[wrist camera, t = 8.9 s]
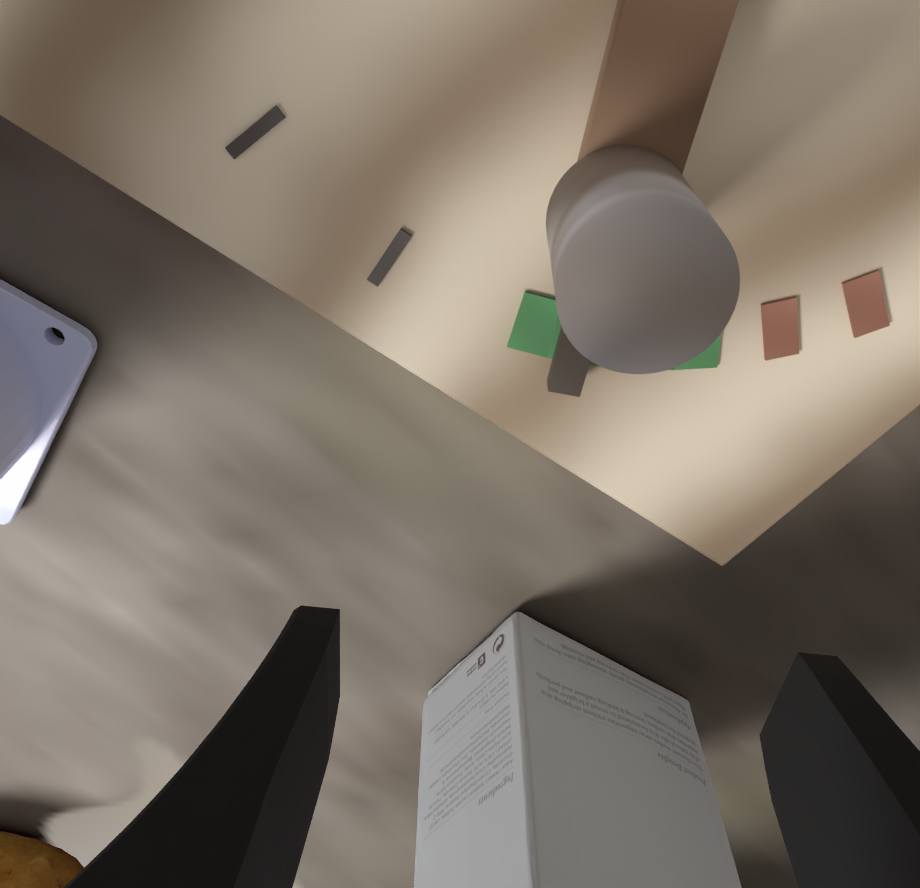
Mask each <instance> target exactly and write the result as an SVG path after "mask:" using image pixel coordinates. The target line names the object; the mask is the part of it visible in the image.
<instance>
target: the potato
mask: <svg viewBox="0 0 920 888" xmlns="http://www.w3.org/2000/svg"><path fill="white" fill-rule="evenodd" d="M83 869H84V867H83V866H82V865H81V864H80V863H79V861H78V860H77V859H76V858H75V857H73V856H71V855H70V854H68V853H66V852H65V851H63V850H62V849H60V848H57V847H54V846H52V845H50V844H47V843H45V842H43V841H41V840H38V839H36V838H29V837H23V836H20V835H16V834H12V833H8V832H1V831H0V888H63V887H64V886H66V885H67V884H68V883H69V882H70V881H71V880H72V879H73V878H74V877H75V876H76V875H77V874H79V873H80V872H81V871H82V870H83Z"/></svg>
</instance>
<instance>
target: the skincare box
mask: <svg viewBox="0 0 920 888" xmlns="http://www.w3.org/2000/svg"><path fill="white" fill-rule="evenodd" d="M414 888H742V887H741V883H740V880H739V876H738V873H737V869H736V866H735V862H734V859H733V855H732V852H731V848H730V845H729V841H728V838H727V834H726V831H725V827H724V823H723V820H722V817H721V814H720V810H719V807H718V803H717V799H716V796H715V793H714V789H713V786H712V783H711V779H710V775H709V771H708V768H707V764H706V761H705V757H704V754H703V750H702V747H701V743H700V740H699V737H698V733H697V730H696V726H695V723H694V719H693V715H692V712H691V708H690V702H689V701H688V700H686V699H685V698H683V697H681V696H679V695H677V694H675V693H673V692H671V691H670V690H668V689H666V688H664V687H662V686H660V685H658V684H656V683H654V682H652V681H650V680H648V679H646V678H644V677H642V676H640V675H638V674H637V673H635V672H633V671H631V670H629V669H627V668H625V667H623V666H622V665H620V664H618V663H616V662H614V661H612V660H610V659H608V658H606V657H605V656H603V655H601V654H599V653H597V652H595V651H593V650H591V649H589V648H587V647H585V646H584V645H582V644H580V643H578V642H576V641H574V640H572V639H570V638H568V637H566V636H564V635H562V634H560V633H558V632H556V631H554V630H552V629H550V628H548V627H547V626H545V625H543V624H541V623H539V622H537V621H536V620H534V619H532V618H530V617H528V616H527V615H525V614H523V613H521V612H515V613H514V614H512V615H511V616H510V617H509V618H508V619H507V620H505V621H504V622H503V623H502V624H501V625H500V626H499V627H498V628H497V629H496V630H495V631H494V632H493V634H491V635H490V636H489V637H488V638H487V639H486V640H485V641H484V642H483V643H482V644H481V645H480V646H478V647H477V648H476V649H475V650H474V651H473V652H472V653H471V654H470V655H468V656H467V657H466V658H465V659H464V660H462V661H461V662H460V663H459V664H458V665H457V666H456V667H455V668H453V669H452V670H451V671H450V672H449V673H448V674H447V675H446V676H445V677H444V678H443V679H441V681H440V682H439V683H437V684H436V685H435V686H434V687H433V688H432V689H431V690H430V691H429V693H428V697H427V699H426V700H425V702H424V705H423V720H422V740H421V758H420V777H419V796H418V819H417V839H416V859H415V878H414Z"/></svg>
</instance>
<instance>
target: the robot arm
mask: <svg viewBox="0 0 920 888" xmlns="http://www.w3.org/2000/svg"><path fill="white" fill-rule="evenodd" d="M52 327H53V328H56V329H58V330H60V331H61V332H62V333H63V335H64V337H65V339H62V338H58V337H57V336H56V335H55V334H54V333H53V331H52ZM96 350H97V341H96V338H95V336H94V335H93V334H92V332H91V331H89V330H88V329H87V328H86V327H84V326H82V325H80V324H79V323H77V322H75V321H73V320H72V319H70V318H68V317H66V316H65V315H63V314H61V313H59V312H58V311H56V310H54V309H52V308H50V307H49V306H47V305H45V304H43V303H42V302H40V301H38V300H36V299H35V298H33V297H31V296H29V295H27V294H26V293H24V292H22V291H20V290H19V289H17V288H15V287H13V286H12V285H10V284H8V283H6V282H4V281H3V280H1V279H0V524H8V523H10V522H11V521H12V520H13V519H14V518H15V517H16V516H17V514H18V513H19V511H20V509H21V507H22V504H23V502H24V500H25V498H26V496H27V494H28V492H29V490H30V488H31V486H32V484H33V482H34V479H35V477H36V475H37V473H38V471H39V469H40V467H41V465H42V463H43V461H44V459H45V457H46V455H47V452H48V450H49V448H50V446H51V444H52V442H53V440H54V438H55V436H56V434H57V432H58V430H59V427H60V425H61V423H62V421H63V419H64V417H65V415H66V413H67V411H68V409H69V407H70V405H71V402H72V400H73V398H74V396H75V394H76V392H77V390H78V388H79V386H80V384H81V382H82V380H83V377H84V375H85V373H86V371H87V369H88V367H89V365H90V363H91V361H92V359H93V357H94V355H95V352H96ZM339 698H340V609H331V608H321V607H310V606H300V607H298V608H297V609H295V610H294V611H293V613H292V615H291V616H290V618H289V620H288V622H287V624H286V625H285V627H284V629H283V630H282V632H281V634H280V635H279V637H278V639H277V640H276V642H275V643H274V645H273V646H272V648H271V650H270V651H269V653H268V654H267V656H266V657H265V659H264V660H263V662H262V663H261V665H260V666H259V667H258V669H257V670H256V672H255V673H254V675H253V676H252V678H251V679H250V680H249V682H248V683H247V685H246V686H245V687H244V689H243V690H242V691H241V693H240V694H239V695H238V697H237V698H236V699H235V701H234V702H233V704H232V705H231V706H230V708H229V709H228V710H227V712H226V713H225V714H224V716H223V717H222V718H221V720H220V721H219V722H218V723H217V725H216V726H215V727H214V728H213V730H212V731H211V732H210V733H209V734H208V736H207V737H206V738H205V739H204V741H203V742H202V743H201V744H200V745H199V747H198V748H197V749H196V750H195V751H194V753H193V754H192V755H191V756H190V758H189V759H188V760H187V761H186V762H185V764H184V765H183V766H182V767H181V768H180V769H179V771H178V772H177V773H176V774H175V775H174V776H173V778H172V779H171V780H170V781H169V782H168V783H167V784H166V785H165V786H164V788H163V789H162V790H161V791H160V792H159V793H158V794H157V795H156V796H155V798H154V799H153V800H152V801H151V802H150V803H149V804H148V805H147V806H146V807H145V808H144V809H143V810H142V811H141V812H140V813H139V814H138V815H137V817H136V818H135V819H134V820H133V821H132V822H131V823H130V824H129V825H128V826H127V827H126V828H125V829H124V830H123V831H122V832H121V833H120V834H119V835H118V836H117V837H116V838H115V839H114V840H113V841H112V842H111V843H110V844H109V845H108V846H107V847H106V848H105V849H104V850H102V851H101V852H100V853H99V854H98V855H97V856H96V857H95V858H94V859H93V860H92V861H91V862H90V863H89V864H88V865H87V866H86V867H85V868H84V869H83V870H82V871H81V872H80V873H79V874H77V875H76V876H75V877H74V878H73V879H72V880H71V881H70V882H69V883H68V884H67V885H66V886H64V887H63V888H292V887H293V883H294V880H295V876H296V873H297V869H298V866H299V862H300V859H301V855H302V852H303V848H304V845H305V841H306V838H307V834H308V831H309V827H310V824H311V820H312V817H313V813H314V810H315V806H316V802H317V799H318V795H319V792H320V788H321V785H322V781H323V778H324V774H325V770H326V767H327V763H328V760H329V754H330V749H331V743H332V738H333V732H334V727H335V721H336V715H337V709H338V703H339ZM760 740H761V746H762V752H763V758H764V763H765V769H766V774H767V779H768V784H769V789H770V794H771V799H772V803H773V806H774V809H775V813H776V816H777V819H778V822H779V826H780V829H781V832H782V835H783V838H784V842H785V845H786V848H787V851H788V854H789V857H790V861H791V864H792V867H793V870H794V873H795V876H796V879H797V882H798V885H799V888H920V751H919V750H918V749H917V748H916V747H915V745H914V744H913V743H912V742H911V741H910V740H909V739H908V737H907V736H906V735H905V734H904V733H903V732H902V731H901V729H900V728H899V727H898V726H897V725H896V724H895V722H894V721H893V720H892V719H891V718H890V717H889V716H888V714H887V713H886V712H885V711H884V710H883V709H882V707H881V706H880V705H879V704H878V703H877V702H876V700H875V699H874V698H873V697H872V696H871V695H870V693H869V692H868V691H867V690H866V689H865V688H864V686H863V685H862V684H861V683H860V682H859V681H858V680H857V678H856V677H855V676H854V675H853V674H852V673H851V672H850V670H849V669H848V668H847V667H846V666H845V665H844V664H843V662H842V661H841V660H840V659H839V658H838V657H837V656H828V655H818V654H807V653H798V654H797V656H796V658H795V660H794V663H793V665H792V667H791V669H790V671H789V673H788V675H787V678H786V680H785V682H784V684H783V686H782V688H781V690H780V693H779V695H778V697H777V699H776V701H775V703H774V705H773V707H772V710H771V712H770V714H769V716H768V718H767V720H766V722H765V725H764V727H763V729H762V731H761V733H760Z"/></svg>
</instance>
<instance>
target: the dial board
mask: <svg viewBox="0 0 920 888" xmlns="http://www.w3.org/2000/svg"><path fill="white" fill-rule="evenodd" d="M616 4H617V0H0V115H1V116H3V117H4V118H6V119H7V120H9V121H11V122H12V123H14V124H15V125H17V126H19V127H20V128H22V129H23V130H25V131H27V132H28V133H30V134H31V135H33V136H35V137H36V138H38V139H39V140H41V141H43V142H44V143H46V144H47V145H49V146H51V147H52V148H54V149H55V150H57V151H59V152H60V153H62V154H63V155H65V156H67V157H68V158H70V159H71V160H73V161H75V162H76V163H78V164H79V165H81V166H83V167H84V168H86V169H87V170H89V171H91V172H92V173H94V174H95V175H97V176H99V177H100V178H102V179H103V180H105V181H107V182H108V183H110V184H111V185H113V186H115V187H116V188H118V189H119V190H121V191H123V192H124V193H126V194H127V195H129V196H131V197H132V198H134V199H135V200H137V201H139V202H140V203H142V204H143V205H145V206H147V207H148V208H150V209H151V210H153V211H155V212H156V213H158V214H159V215H161V216H163V217H164V218H166V219H167V220H169V221H171V222H172V223H174V224H175V225H177V226H179V227H180V228H182V229H183V230H185V231H187V232H188V233H190V234H191V235H193V236H195V237H196V238H198V239H199V240H201V241H203V242H204V243H206V244H207V245H209V246H211V247H212V248H214V249H215V250H217V251H219V252H220V253H222V254H223V255H225V256H227V257H228V258H230V259H231V260H233V261H235V262H236V263H238V264H239V265H241V266H243V267H244V268H246V269H247V270H249V271H251V272H252V273H254V274H255V275H257V276H259V277H260V278H262V279H263V280H265V281H267V282H268V283H270V284H271V285H273V286H275V287H276V288H278V289H279V290H281V291H283V292H284V293H286V294H287V295H289V296H291V297H292V298H294V299H295V300H297V301H299V302H300V303H302V304H303V305H305V306H307V307H308V308H310V309H311V310H313V311H315V312H316V313H318V314H319V315H321V316H323V317H324V318H326V319H327V320H329V321H331V322H332V323H334V324H335V325H337V326H339V327H340V328H342V329H343V330H345V331H347V332H348V333H350V334H351V335H353V336H355V337H356V338H358V339H359V340H361V341H363V342H364V343H366V344H367V345H369V346H371V347H372V348H374V349H375V350H377V351H379V352H380V353H382V354H383V355H385V356H387V357H388V358H390V359H391V360H393V361H395V362H396V363H398V364H399V365H401V366H403V367H404V368H406V369H407V370H409V371H411V372H412V373H414V374H415V375H417V376H419V377H420V378H422V379H423V380H425V381H427V382H428V383H430V384H431V385H433V386H435V387H436V388H438V389H439V390H441V391H443V392H444V393H446V394H447V395H449V396H451V397H452V398H454V399H455V400H457V401H459V402H460V403H462V404H463V405H465V406H467V407H468V408H470V409H472V410H473V411H475V412H476V413H478V414H480V415H481V416H483V417H484V418H486V419H488V420H489V421H491V422H492V423H494V424H496V425H497V426H499V427H500V428H502V429H504V430H505V431H507V432H508V433H510V434H512V435H513V436H515V437H516V438H518V439H520V440H521V441H523V442H524V443H526V444H528V445H529V446H531V447H532V448H534V449H536V450H537V451H539V452H540V453H542V454H544V455H545V456H547V457H548V458H550V459H552V460H553V461H555V462H556V463H558V464H560V465H561V466H563V467H564V468H566V469H568V470H569V471H571V472H572V473H574V474H576V475H577V476H579V477H580V478H582V479H584V480H585V481H587V482H588V483H590V484H592V485H593V486H595V487H596V488H598V489H600V490H601V491H603V492H604V493H606V494H608V495H609V496H611V497H612V498H614V499H616V500H617V501H619V502H620V503H622V504H624V505H625V506H627V507H628V508H630V509H632V510H633V511H635V512H636V513H638V514H640V515H641V516H643V517H644V518H646V519H648V520H649V521H651V522H652V523H654V524H656V525H657V526H659V527H660V528H662V529H664V530H665V531H667V532H668V533H670V534H672V535H673V536H675V537H676V538H678V539H680V540H681V541H683V542H684V543H686V544H688V545H689V546H691V547H692V548H694V549H696V550H697V551H699V552H700V553H702V554H704V555H705V556H707V557H708V558H710V559H712V560H713V561H715V562H716V563H718V564H720V565H721V566H723V565H724V564H726V563H727V562H728V561H729V560H731V559H732V558H733V557H734V556H735V555H737V554H738V553H739V552H740V551H741V550H743V549H744V548H745V547H746V546H748V545H749V544H750V543H751V542H752V541H754V540H755V539H756V538H757V537H759V536H760V535H761V534H762V533H763V532H765V531H766V530H767V529H768V528H770V527H771V526H772V525H773V524H774V523H776V522H777V521H778V520H779V519H780V518H782V517H783V516H784V515H785V514H787V513H788V512H789V511H790V510H791V509H793V508H794V507H795V506H796V505H798V504H799V503H800V502H801V501H802V500H804V499H805V498H806V497H807V496H808V495H810V494H811V493H812V492H813V491H815V490H816V489H817V488H818V487H819V486H821V485H822V484H823V483H824V482H826V481H827V480H828V479H829V478H830V477H832V476H833V475H834V474H835V473H837V472H838V471H839V470H840V469H841V468H843V467H844V466H845V465H846V464H847V463H849V462H850V461H851V460H852V459H854V458H855V457H856V456H857V455H858V454H860V453H861V452H862V451H863V450H865V449H866V448H867V447H868V446H869V445H871V444H872V443H873V442H874V441H875V440H877V439H878V438H879V437H880V436H882V435H883V434H884V433H885V432H886V431H888V430H889V429H890V428H891V427H893V426H894V425H895V424H896V423H897V422H899V421H900V420H901V419H902V418H904V417H905V416H906V415H907V414H908V413H910V412H911V411H912V410H913V409H914V408H916V407H917V406H918V405H919V404H920V0H739V2H738V5H737V8H736V11H735V14H734V17H733V21H732V24H731V27H730V30H729V33H728V36H727V39H726V42H725V45H724V48H723V51H722V54H721V57H720V60H719V63H718V66H717V70H716V73H715V76H714V79H713V82H712V85H711V88H710V91H709V94H708V97H707V100H706V103H705V106H704V109H703V112H702V115H701V119H700V122H699V125H698V128H697V131H696V134H695V137H694V140H693V143H692V146H691V149H690V152H689V155H688V158H687V161H686V164H685V168H684V171H683V174H682V175H683V177H684V178H685V180H686V181H687V182H688V184H689V185H690V187H691V188H692V189H693V191H694V192H695V193H696V195H697V196H698V198H699V199H700V200H701V202H702V203H703V205H704V206H705V207H706V209H707V210H708V212H709V213H710V214H711V216H712V217H713V219H714V220H715V221H716V223H717V224H718V225H719V227H720V228H721V230H722V231H723V232H724V234H725V235H726V237H727V238H728V240H729V241H730V243H731V245H732V247H733V249H734V251H735V254H736V256H737V260H738V264H739V270H740V290H739V296H738V301H737V304H736V307H735V310H734V312H733V314H732V316H731V318H730V321H729V322H728V324H727V325H726V327H725V329H724V330H723V332H722V333H721V334H720V335H719V336H718V338H717V339H716V340H715V341H714V342H713V343H712V344H711V345H710V346H709V347H708V348H707V349H706V350H704V351H703V352H702V353H700V354H699V355H698V356H696V357H695V358H693V359H691V360H690V361H688V362H686V363H684V364H682V365H680V366H678V367H675V368H672V369H669V370H666V371H662V372H657V373H651V374H626V373H619V372H615V371H611V370H608V369H606V368H603V367H601V366H599V365H597V364H595V363H593V362H590V365H589V368H588V372H587V375H586V378H585V382H584V385H583V388H582V391H581V395H580V397H576V396H570V395H565V394H559V393H554V392H548V388H547V377H548V373H549V369H550V366H551V362H552V358H553V355H554V351H555V347H556V344H557V340H558V336H559V333H560V329H561V323H560V321H559V316H558V312H557V306H556V298H555V291H554V284H553V277H552V269H551V262H550V255H549V247H548V240H547V232H546V214H547V208H548V204H549V201H550V198H551V195H552V193H553V191H554V189H555V187H556V185H557V184H558V182H559V180H560V179H561V178H562V176H563V175H564V174H565V173H566V171H567V170H568V169H569V168H570V167H572V166H573V165H574V164H575V163H576V162H577V160H578V156H579V152H580V148H581V144H582V140H583V136H584V132H585V128H586V124H587V120H588V116H589V112H590V108H591V104H592V100H593V96H594V92H595V88H596V84H597V80H598V76H599V72H600V68H601V64H602V60H603V56H604V52H605V48H606V44H607V40H608V36H609V32H610V28H611V24H612V20H613V16H614V12H615V8H616Z"/></svg>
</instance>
